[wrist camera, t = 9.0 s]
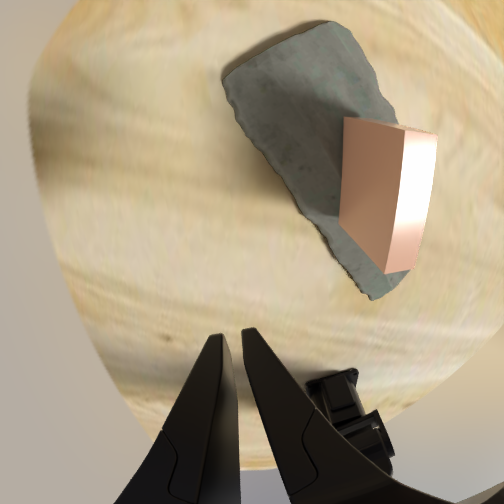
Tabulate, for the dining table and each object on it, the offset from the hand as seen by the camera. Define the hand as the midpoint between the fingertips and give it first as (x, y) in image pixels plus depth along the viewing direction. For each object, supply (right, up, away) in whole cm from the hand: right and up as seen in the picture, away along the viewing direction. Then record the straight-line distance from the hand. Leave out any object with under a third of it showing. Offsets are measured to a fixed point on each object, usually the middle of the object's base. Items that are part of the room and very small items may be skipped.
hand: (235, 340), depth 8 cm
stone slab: (+8, +8, +12) cm, 16 cm away
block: (+7, +8, +8) cm, 13 cm away
